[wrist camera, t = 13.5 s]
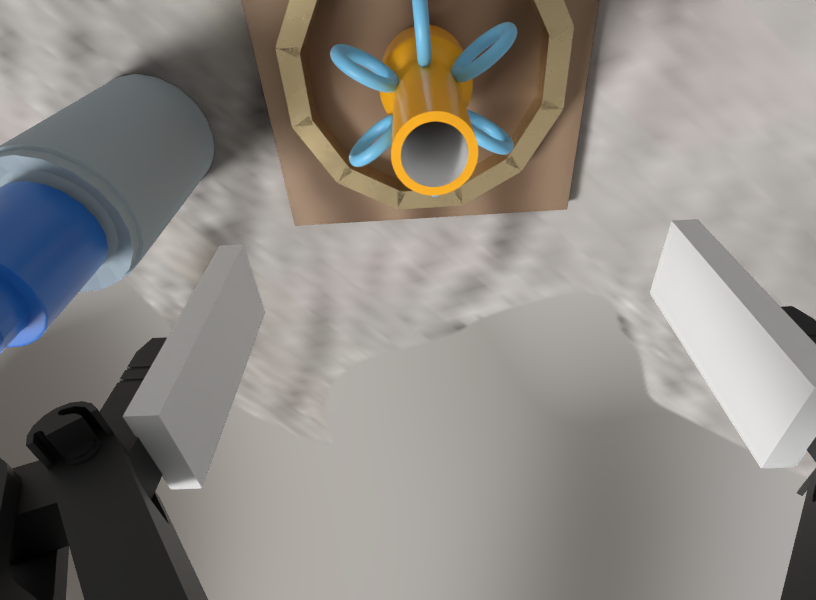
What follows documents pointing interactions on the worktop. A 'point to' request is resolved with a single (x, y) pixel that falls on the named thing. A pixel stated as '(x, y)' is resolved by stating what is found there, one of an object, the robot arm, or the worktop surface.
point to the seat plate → (362, 108)
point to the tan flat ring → (387, 187)
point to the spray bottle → (92, 195)
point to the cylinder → (428, 103)
